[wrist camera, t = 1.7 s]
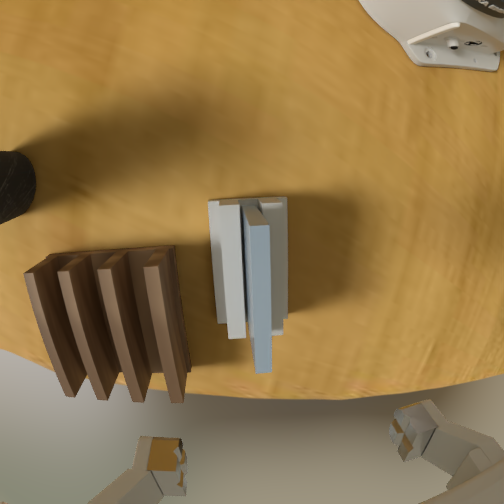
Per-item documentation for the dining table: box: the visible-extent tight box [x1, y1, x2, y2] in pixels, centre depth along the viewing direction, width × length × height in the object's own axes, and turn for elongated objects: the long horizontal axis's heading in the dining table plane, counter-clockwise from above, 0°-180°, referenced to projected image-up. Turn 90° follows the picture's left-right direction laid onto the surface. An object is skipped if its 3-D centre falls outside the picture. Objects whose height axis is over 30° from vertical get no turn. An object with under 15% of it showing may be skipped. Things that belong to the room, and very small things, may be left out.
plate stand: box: [208, 196, 288, 339], centre depth 28 cm, size 7×12×4 cm, turn 2°
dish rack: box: [23, 245, 191, 403], centre depth 28 cm, size 14×14×6 cm
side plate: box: [241, 205, 272, 374], centre depth 25 cm, size 1×11×9 cm, turn 2°
